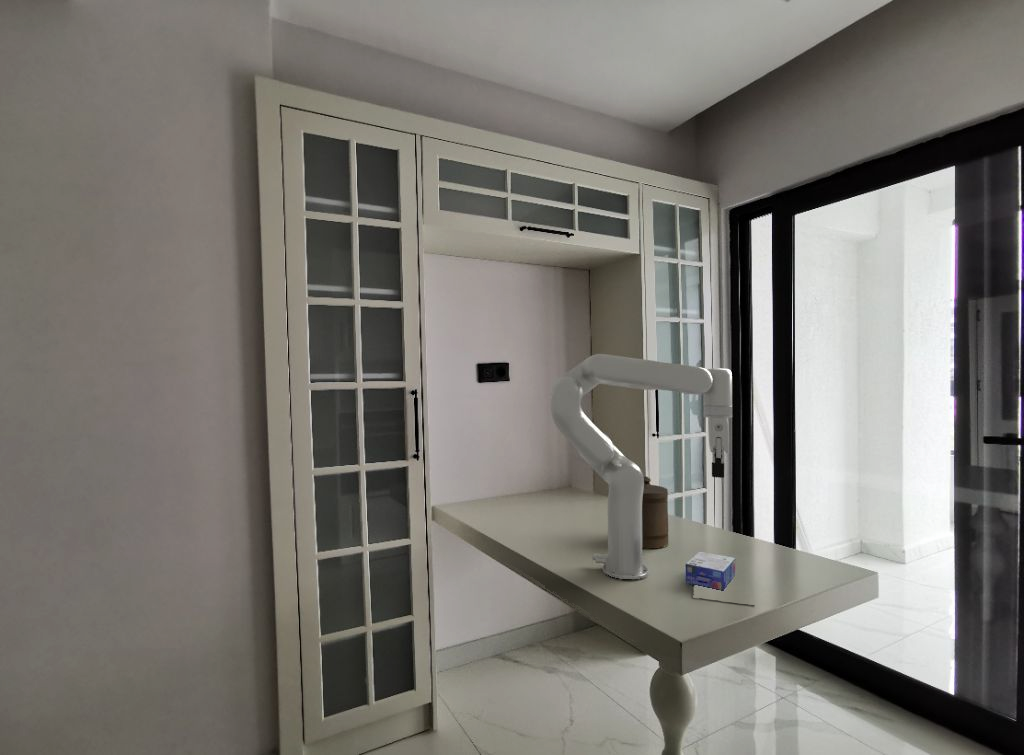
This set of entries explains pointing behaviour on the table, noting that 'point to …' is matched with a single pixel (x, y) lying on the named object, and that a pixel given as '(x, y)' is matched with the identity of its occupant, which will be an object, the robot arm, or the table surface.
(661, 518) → the wooden container
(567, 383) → the robot arm
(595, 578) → the table surface
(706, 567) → the ink cartridge box
